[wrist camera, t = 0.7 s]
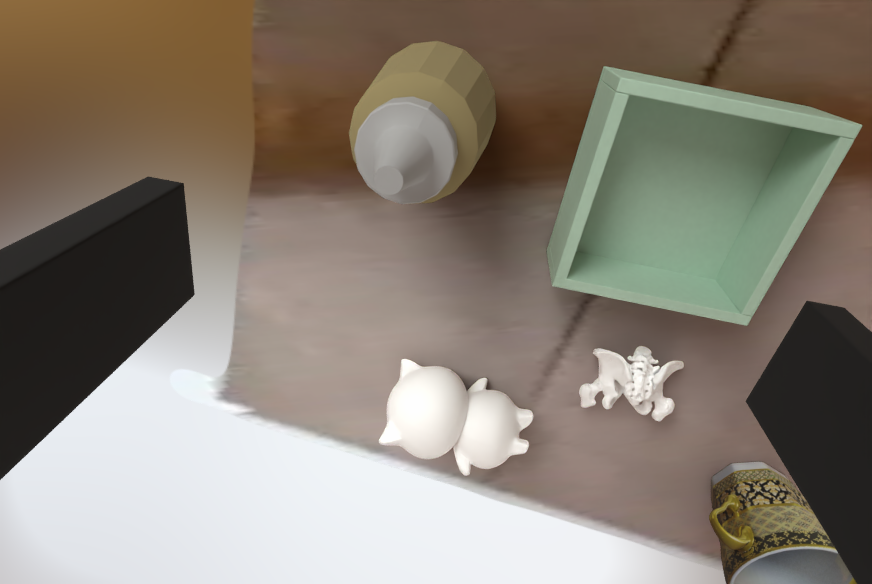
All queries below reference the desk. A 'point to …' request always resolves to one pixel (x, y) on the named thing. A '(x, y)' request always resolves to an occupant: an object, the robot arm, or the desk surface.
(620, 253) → the bin
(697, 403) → the desk surface
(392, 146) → the squeeze bottle
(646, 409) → the anatomical pelvis
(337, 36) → the desk surface
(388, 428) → the cat figurine
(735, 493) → the ceramic cup
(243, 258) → the desk surface
